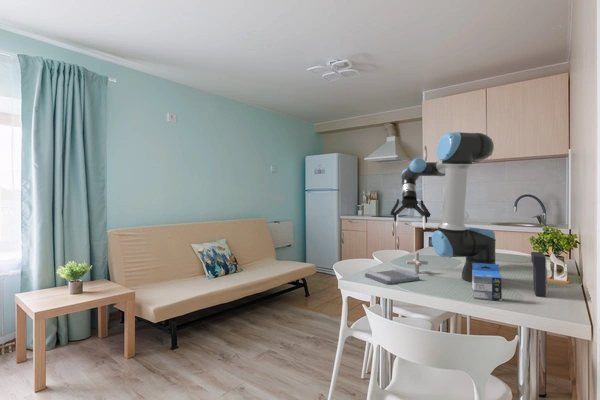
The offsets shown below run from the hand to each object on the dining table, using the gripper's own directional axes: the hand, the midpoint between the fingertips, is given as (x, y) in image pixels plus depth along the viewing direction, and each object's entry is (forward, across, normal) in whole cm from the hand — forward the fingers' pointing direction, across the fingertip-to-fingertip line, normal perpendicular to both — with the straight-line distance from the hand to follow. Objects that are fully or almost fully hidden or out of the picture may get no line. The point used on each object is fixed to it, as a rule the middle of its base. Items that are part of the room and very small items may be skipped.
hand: (410, 227), depth 169 cm
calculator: (+37, -42, +22) cm, 60 cm away
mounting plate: (+31, +11, +6) cm, 33 cm away
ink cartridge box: (+44, -20, +29) cm, 56 cm away
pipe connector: (+23, -3, -5) cm, 24 cm away
